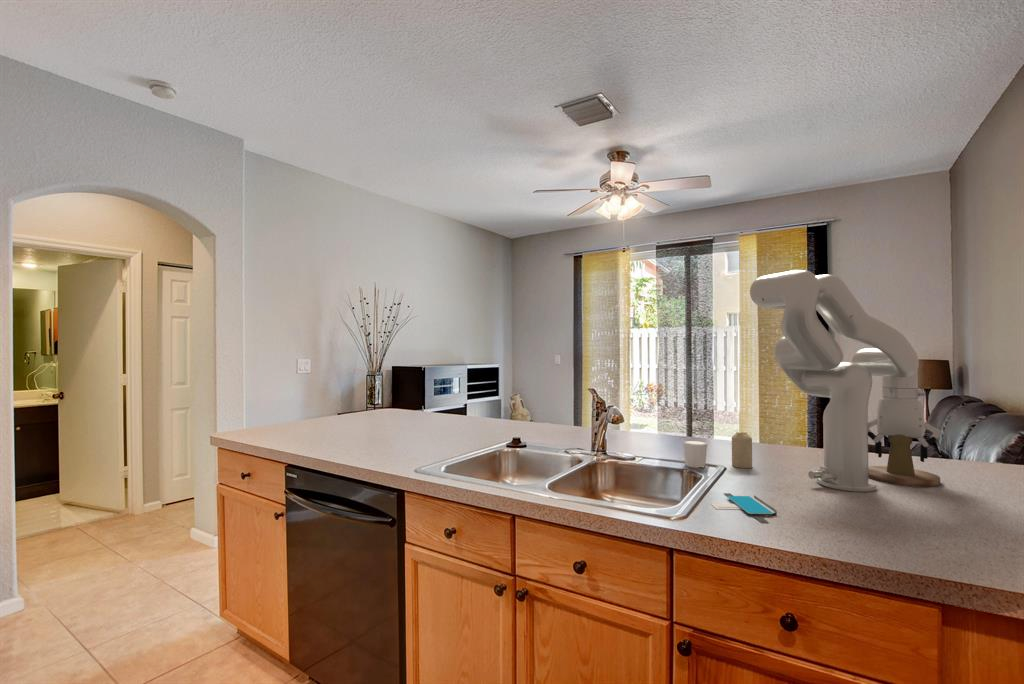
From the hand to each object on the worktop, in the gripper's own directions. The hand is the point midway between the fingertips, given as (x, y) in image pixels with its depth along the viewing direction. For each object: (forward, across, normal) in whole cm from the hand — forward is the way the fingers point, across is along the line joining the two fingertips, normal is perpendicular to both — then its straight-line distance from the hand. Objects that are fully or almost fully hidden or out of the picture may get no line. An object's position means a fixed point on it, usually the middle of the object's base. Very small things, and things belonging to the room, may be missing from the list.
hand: (900, 458), depth 132 cm
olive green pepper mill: (+4, 0, 0) cm, 4 cm away
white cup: (+6, +49, +18) cm, 52 cm away
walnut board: (+5, 0, 0) cm, 5 cm away
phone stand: (+6, +29, +51) cm, 59 cm away
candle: (+6, +37, +10) cm, 39 cm away
